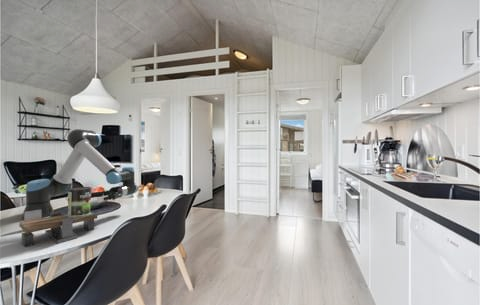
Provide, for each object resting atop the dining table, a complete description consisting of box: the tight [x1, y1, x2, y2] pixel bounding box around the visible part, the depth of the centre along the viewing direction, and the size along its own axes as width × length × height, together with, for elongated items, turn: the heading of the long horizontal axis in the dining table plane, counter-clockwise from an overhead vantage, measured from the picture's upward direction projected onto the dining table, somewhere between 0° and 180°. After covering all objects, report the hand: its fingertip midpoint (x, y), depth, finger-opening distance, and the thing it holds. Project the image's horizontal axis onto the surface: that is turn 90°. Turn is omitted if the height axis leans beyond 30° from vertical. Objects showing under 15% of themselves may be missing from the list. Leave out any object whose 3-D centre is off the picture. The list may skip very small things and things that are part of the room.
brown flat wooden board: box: [19, 211, 98, 233], centre depth 112 cm, size 15×28×2 cm, turn 144°
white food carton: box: [23, 210, 42, 222], centre depth 121 cm, size 4×7×10 cm, turn 138°
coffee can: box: [67, 186, 92, 217], centre depth 118 cm, size 10×10×14 cm
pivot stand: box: [21, 212, 95, 248], centre depth 112 cm, size 20×28×10 cm
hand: (88, 199), depth 123 cm, fingers open, 13 cm apart
